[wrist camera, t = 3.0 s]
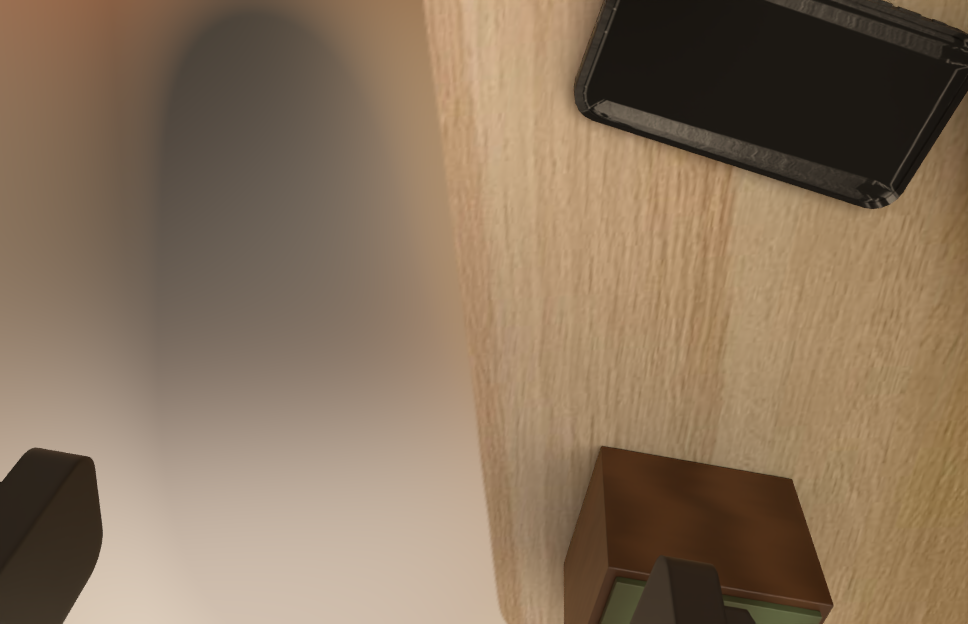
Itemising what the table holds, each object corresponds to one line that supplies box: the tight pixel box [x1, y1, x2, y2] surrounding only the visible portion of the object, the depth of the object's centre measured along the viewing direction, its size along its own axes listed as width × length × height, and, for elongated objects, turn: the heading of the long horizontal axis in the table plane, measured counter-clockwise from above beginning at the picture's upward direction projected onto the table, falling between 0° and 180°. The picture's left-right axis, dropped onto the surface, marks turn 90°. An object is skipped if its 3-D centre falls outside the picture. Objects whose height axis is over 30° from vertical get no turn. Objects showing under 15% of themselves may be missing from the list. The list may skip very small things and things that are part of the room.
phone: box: [574, 0, 968, 209], centre depth 34 cm, size 8×1×15 cm
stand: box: [564, 446, 833, 624], centre depth 46 cm, size 11×10×9 cm
